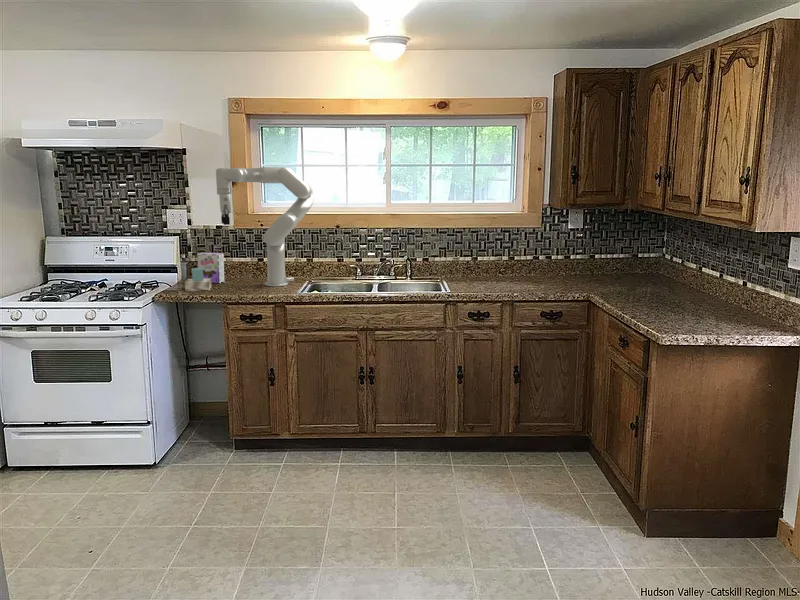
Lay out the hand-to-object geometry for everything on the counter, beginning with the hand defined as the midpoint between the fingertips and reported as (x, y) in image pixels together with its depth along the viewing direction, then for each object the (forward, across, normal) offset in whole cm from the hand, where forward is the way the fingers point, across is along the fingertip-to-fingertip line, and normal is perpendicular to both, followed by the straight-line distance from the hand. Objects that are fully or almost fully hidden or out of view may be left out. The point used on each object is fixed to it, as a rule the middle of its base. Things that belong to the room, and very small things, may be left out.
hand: (225, 224), depth 351 cm
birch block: (+34, -8, +16) cm, 38 cm away
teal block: (+29, -8, +16) cm, 34 cm away
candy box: (+34, +12, +8) cm, 37 cm away
